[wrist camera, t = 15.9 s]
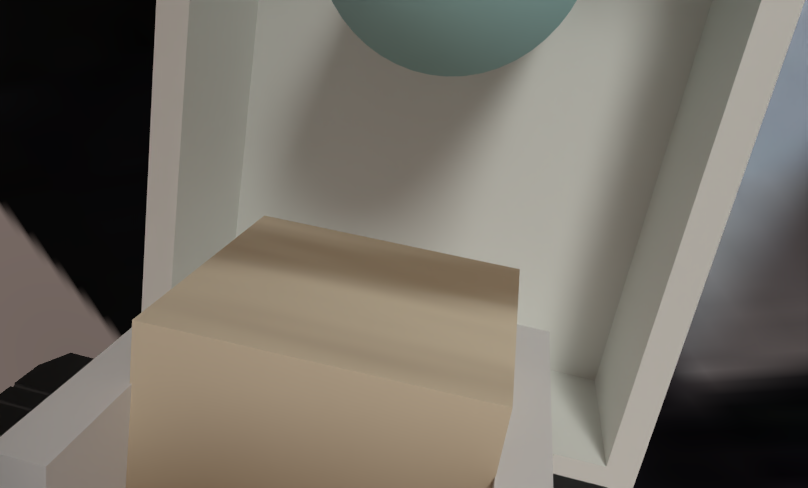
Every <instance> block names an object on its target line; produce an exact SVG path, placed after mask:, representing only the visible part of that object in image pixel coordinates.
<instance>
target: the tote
mask: <svg viewBox="0 0 808 488" xmlns="http://www.w3.org/2000/svg"><path fill="white" fill-rule="evenodd" d="M804 2H805V0H577V1H576V2H575V4H574V6H573V7H572V9H571V11H570V12H569V13H568V15H567V16H566V17H565V18H564V20H563V21H562V22H561V24H560V25H559V26H558V27H557V28H556V29H555V30H554V31H553V32H552V33H551V34H550V35H549V36H548V37H547V38H546V39H545V40H544V41H543V42H542V43H540V44H539V45H538V46H537V47H535V48H534V49H533V50H532V51H530V52H529V53H527V54H525V55H524V56H522V57H520V58H519V59H517V60H516V61H513V62H511V63H509V64H507V65H504V66H502V67H500V68H497V69H494V70H491V71H487V72H484V73H480V74H474V75H468V76H448V77H446V76H437V75H428V74H424V73H420V72H416V71H412V70H410V69H407V68H405V67H402V66H400V65H397V64H395V63H393V62H391V61H390V60H388V59H386V58H384V57H382V56H381V55H379V54H378V53H377V52H375V51H374V50H373V49H371V48H370V47H369V46H367V45H366V44H365V43H364V42H363V41H362V40H361V39H360V38H359V37H358V36H357V35H356V34H355V33H354V32H353V31H352V30H351V29H350V27H349V26H348V25H347V24H346V22H345V21H344V20H343V19H342V17H341V16H340V14H339V12H338V11H337V9H336V7H335V6H334V4H333V2H332V0H156V19H155V40H154V61H153V82H152V103H151V124H150V145H149V166H148V187H147V207H146V228H145V249H144V270H143V291H142V312H143V311H144V310H145V309H147V308H148V307H149V306H150V305H152V304H153V303H154V302H156V301H157V300H158V299H159V298H161V297H162V296H163V295H164V294H166V293H167V292H168V291H169V290H171V289H172V288H173V287H174V286H176V285H177V284H178V283H180V282H181V281H182V280H183V279H185V278H186V277H187V276H188V275H190V274H191V273H192V272H193V271H195V270H196V269H197V268H199V267H200V266H201V265H202V264H204V263H205V262H206V261H207V260H209V259H210V258H211V257H212V256H214V255H215V254H216V253H218V252H219V251H220V250H221V249H223V248H224V247H225V246H226V245H228V244H229V243H230V242H231V241H233V240H234V239H235V238H236V237H238V236H239V235H240V234H242V233H243V232H244V231H245V230H247V229H248V228H249V227H250V226H252V225H253V224H254V223H255V222H257V221H258V220H259V219H261V218H262V217H263V216H264V215H265V216H269V217H274V218H279V219H284V220H288V221H293V222H298V223H303V224H307V225H312V226H317V227H322V228H326V229H331V230H336V231H341V232H345V233H350V234H355V235H359V236H364V237H369V238H374V239H378V240H383V241H388V242H393V243H397V244H402V245H407V246H412V247H416V248H421V249H426V250H431V251H435V252H440V253H445V254H450V255H454V256H459V257H464V258H469V259H473V260H478V261H483V262H488V263H492V264H497V265H502V266H507V267H511V268H516V269H520V275H519V294H518V313H517V324H518V325H522V326H527V327H531V328H535V329H539V330H544V331H548V332H549V338H550V378H551V417H552V456H553V474H557V475H561V476H565V477H569V478H572V479H576V480H580V481H584V482H588V483H592V484H596V485H600V486H604V487H607V488H633V486H634V484H635V481H636V478H637V475H638V472H639V469H640V467H641V464H642V461H643V458H644V455H645V452H646V450H647V447H648V444H649V441H650V438H651V435H652V433H653V430H654V427H655V424H656V421H657V418H658V416H659V413H660V410H661V407H662V404H663V401H664V399H665V396H666V393H667V390H668V387H669V384H670V382H671V379H672V376H673V373H674V370H675V367H676V365H677V362H678V359H679V356H680V353H681V350H682V348H683V345H684V342H685V339H686V336H687V333H688V331H689V328H690V325H691V322H692V319H693V316H694V314H695V311H696V308H697V305H698V302H699V299H700V297H701V294H702V291H703V288H704V285H705V282H706V280H707V277H708V274H709V271H710V268H711V265H712V263H713V260H714V257H715V254H716V251H717V248H718V246H719V243H720V240H721V237H722V234H723V231H724V229H725V226H726V223H727V220H728V217H729V214H730V212H731V209H732V206H733V203H734V200H735V197H736V195H737V192H738V189H739V186H740V183H741V180H742V178H743V175H744V172H745V169H746V166H747V163H748V161H749V158H750V155H751V152H752V149H753V146H754V144H755V141H756V138H757V135H758V132H759V129H760V127H761V124H762V121H763V118H764V115H765V113H766V110H767V107H768V104H769V101H770V98H771V96H772V93H773V90H774V87H775V84H776V81H777V79H778V76H779V73H780V70H781V67H782V64H783V62H784V59H785V56H786V53H787V50H788V47H789V45H790V42H791V39H792V36H793V33H794V30H795V28H796V25H797V22H798V19H799V16H800V13H801V11H802V8H803V5H804ZM142 312H141V313H142Z"/></svg>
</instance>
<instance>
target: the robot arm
mask: <svg viewBox="0 0 808 488" xmlns="http://www.w3.org/2000/svg"><path fill="white" fill-rule="evenodd" d="M131 337H132V328H131V329H129V330H128V331H127V332H126V333H125V334H123V335H122V336H121V337H120V338H118V339H117V340H116V341H115V342H114V343H112V344H111V345H110V346H109V347H108V348H106V349H105V350H104V351H103V352H102V353H101V354H99V355H98V356H97V357H96V358H94V359H93V358H89V357H85V356H80V355H77V354H73V353H69V354H66V355H64V356H61V357H59V358H56V359H53V360H51V361H48V362H46V363H43V364H40V365H38V366H37V367H35V368H34V369H33V370H31V371H30V372H29V373H27V374H26V375H25V376H23V377H22V378H21V379H19V380H18V381H17V382H15V385H14V387H9V388H8V389H6V390H5V391H3V392H2V393H1V394H0V488H126V472H127V455H128V437H129V420H130V403H131V386H132V384H130V362H131ZM492 488H607V487H604V486H600V485H596V484H592V483H588V482H584V481H580V480H576V479H572V478H569V477H565V476H561V475H557V474H553V456H552V417H551V378H550V338H549V332H548V331H544V330H539V329H535V328H531V327H527V326H522V325H518V324H517V332H516V352H515V371H514V390H513V408H512V412H511V416H510V420H509V425H508V429H507V433H506V437H505V441H504V445H503V449H502V453H501V457H500V461H499V465H498V469H497V474H496V476H495V479H494V483H493V486H492Z"/></svg>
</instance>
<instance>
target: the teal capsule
mask: <svg viewBox="0 0 808 488" xmlns="http://www.w3.org/2000/svg"><path fill="white" fill-rule="evenodd" d="M576 1H577V0H332V2H333V4H334V6H335V7H336V9H337V11H338V12H339V14H340V16H341V17H342V19H343V20H344V21H345V22H346V24H347V25H348V26H349V27H350V29H351V30H352V31H353V32H354V33H355V34H356V35H357V36H358V37H359V38H360V39H361V40H362V41H363V42H364V43H365V44H366V45H367V46H369V47H370V48H371V49H373V50H374V51H375V52H377V53H378V54H379V55H381V56H382V57H384V58H386V59H388V60H390V61H391V62H393V63H395V64H397V65H400V66H402V67H405V68H407V69H410V70H412V71H416V72H420V73H424V74H428V75H437V76H446V77H448V76H468V75H474V74H480V73H484V72H487V71H491V70H494V69H497V68H500V67H502V66H504V65H507V64H509V63H511V62H513V61H516V60H517V59H519V58H520V57H522V56H524V55H525V54H527V53H529V52H530V51H532V50H533V49H534V48H535V47H537V46H538V45H539V44H540V43H542V42H543V41H544V40H545V39H546V38H547V37H548V36H549V35H550V34H551V33H552V32H553V31H554V30H555V29H556V28H557V27H558V26H559V25H560V24H561V22H562V21H563V20H564V18H565V17H566V16H567V15H568V13H569V12H570V11H571V9H572V7H573V6H574V4H575V2H576Z"/></svg>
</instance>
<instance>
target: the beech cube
mask: <svg viewBox="0 0 808 488" xmlns="http://www.w3.org/2000/svg"><path fill="white" fill-rule="evenodd" d="M519 275H520V269H516V268H511V267H507V266H502V265H497V264H492V263H488V262H483V261H478V260H473V259H469V258H464V257H459V256H454V255H450V254H445V253H440V252H435V251H431V250H426V249H421V248H416V247H412V246H407V245H402V244H397V243H393V242H388V241H383V240H378V239H374V238H369V237H364V236H359V235H355V234H350V233H345V232H341V231H336V230H331V229H326V228H322V227H317V226H312V225H307V224H303V223H298V222H293V221H288V220H284V219H279V218H274V217H269V216H265V215H264V216H263V217H262V218H261V219H259V220H258V221H257V222H255V223H254V224H253V225H252V226H250V227H249V228H248V229H247V230H245V231H244V232H243V233H242V234H240V235H239V236H238V237H236V238H235V239H234V240H233V241H231V242H230V243H229V244H228V245H226V246H225V247H224V248H223V249H221V250H220V251H219V252H218V253H216V254H215V255H214V256H212V257H211V258H210V259H209V260H207V261H206V262H205V263H204V264H202V265H201V266H200V267H199V268H197V269H196V270H195V271H193V272H192V273H191V274H190V275H188V276H187V277H186V278H185V279H183V280H182V281H181V282H180V283H178V284H177V285H176V286H174V287H173V288H172V289H171V290H169V291H168V292H167V293H166V294H164V295H163V296H162V297H161V298H159V299H158V300H157V301H156V302H154V303H153V304H152V305H150V306H149V307H148V308H147V309H145V310H144V311H143V312H142V313H140V314H139V315H138V316H137V317H135V318H134V319H133V320H132V337H131V362H130V384H132V386H131V403H130V420H129V437H128V455H127V472H126V488H492V486H493V483H494V479H495V476H496V474H497V469H498V465H499V461H500V457H501V453H502V449H503V445H504V441H505V437H506V433H507V429H508V425H509V420H510V416H511V412H512V408H513V390H514V371H515V352H516V332H517V313H518V294H519Z"/></svg>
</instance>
